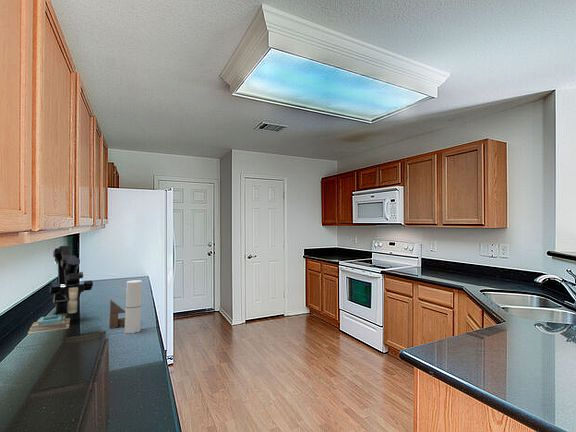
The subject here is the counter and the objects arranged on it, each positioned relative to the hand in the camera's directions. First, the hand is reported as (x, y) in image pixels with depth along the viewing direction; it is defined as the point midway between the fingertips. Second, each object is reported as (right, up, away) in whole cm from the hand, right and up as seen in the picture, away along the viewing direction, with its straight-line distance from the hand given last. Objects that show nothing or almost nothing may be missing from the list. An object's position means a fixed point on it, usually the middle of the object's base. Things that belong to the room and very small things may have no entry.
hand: (73, 300), depth 163 cm
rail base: (-10, -13, -3) cm, 17 cm away
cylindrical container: (+35, -14, -7) cm, 38 cm away
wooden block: (+25, -14, +1) cm, 29 cm away
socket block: (-9, -12, -4) cm, 16 cm away
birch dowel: (-1, -7, +1) cm, 7 cm away
